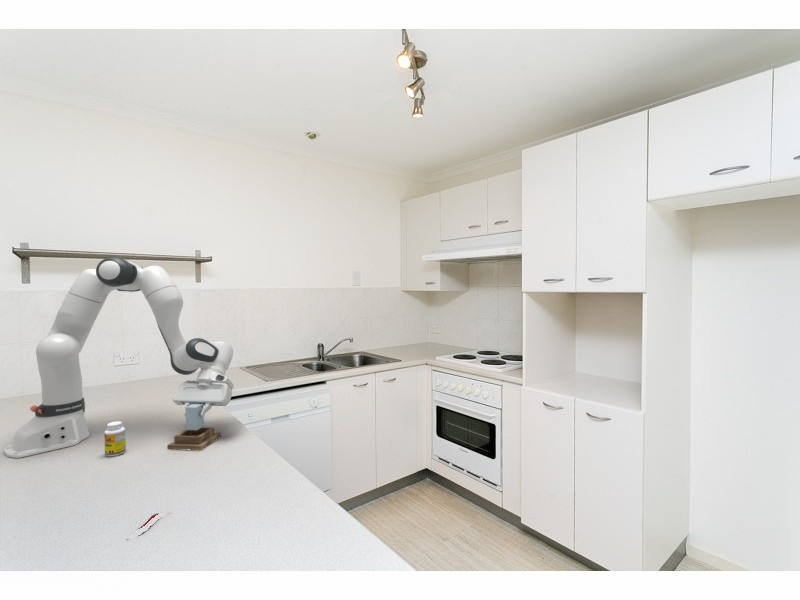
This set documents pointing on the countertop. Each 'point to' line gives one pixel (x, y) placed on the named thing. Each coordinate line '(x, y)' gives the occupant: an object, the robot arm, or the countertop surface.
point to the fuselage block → (194, 417)
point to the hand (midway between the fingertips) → (193, 415)
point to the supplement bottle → (114, 439)
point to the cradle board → (194, 439)
